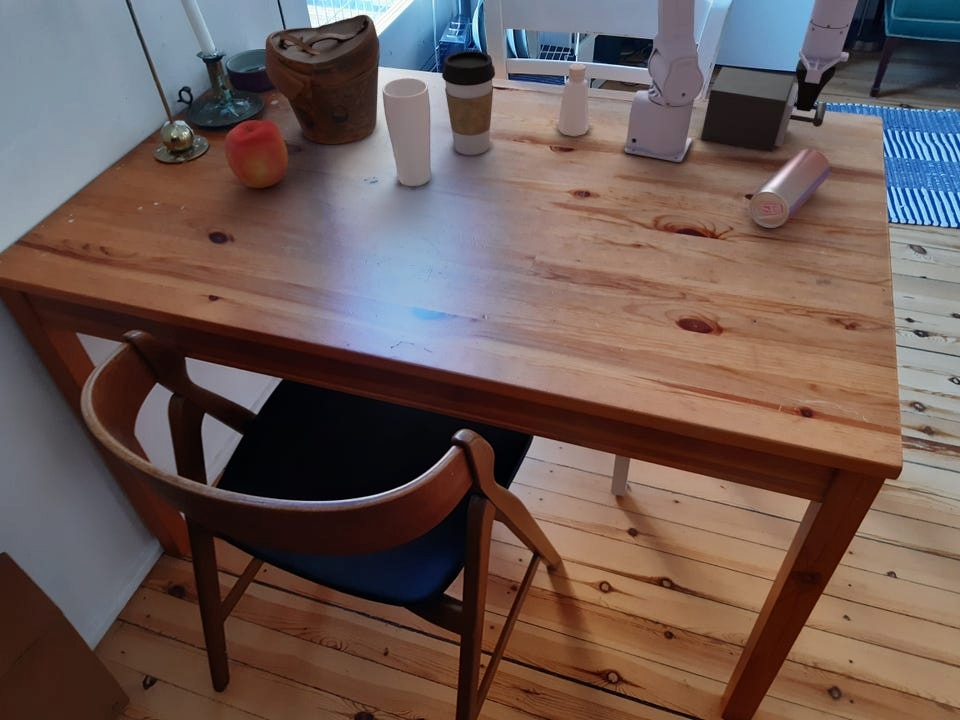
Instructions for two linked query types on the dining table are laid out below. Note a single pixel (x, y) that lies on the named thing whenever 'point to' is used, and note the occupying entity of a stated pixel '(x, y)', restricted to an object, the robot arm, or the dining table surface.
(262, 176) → the apple
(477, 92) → the coffee cup
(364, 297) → the dining table surface
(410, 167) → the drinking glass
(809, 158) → the beverage can
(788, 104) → the drawer
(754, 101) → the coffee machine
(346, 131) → the case
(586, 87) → the pepper shaker
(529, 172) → the dining table surface
